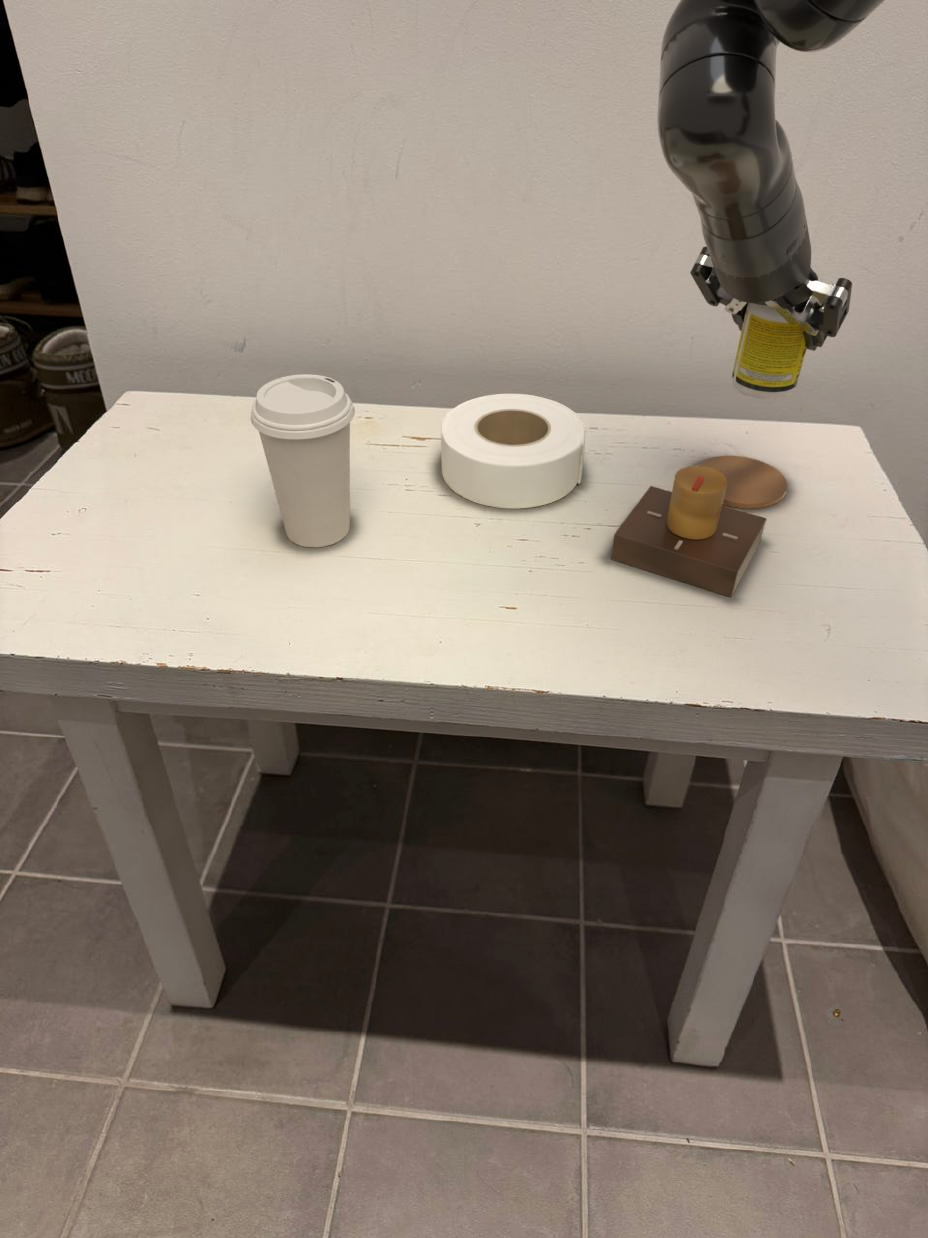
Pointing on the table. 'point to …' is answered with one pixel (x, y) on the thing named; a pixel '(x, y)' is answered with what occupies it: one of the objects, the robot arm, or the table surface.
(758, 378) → the pill bottle
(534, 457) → the tape roll
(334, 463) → the coffee cup
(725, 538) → the panel
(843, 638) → the table surface
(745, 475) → the coaster
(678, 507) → the knob
